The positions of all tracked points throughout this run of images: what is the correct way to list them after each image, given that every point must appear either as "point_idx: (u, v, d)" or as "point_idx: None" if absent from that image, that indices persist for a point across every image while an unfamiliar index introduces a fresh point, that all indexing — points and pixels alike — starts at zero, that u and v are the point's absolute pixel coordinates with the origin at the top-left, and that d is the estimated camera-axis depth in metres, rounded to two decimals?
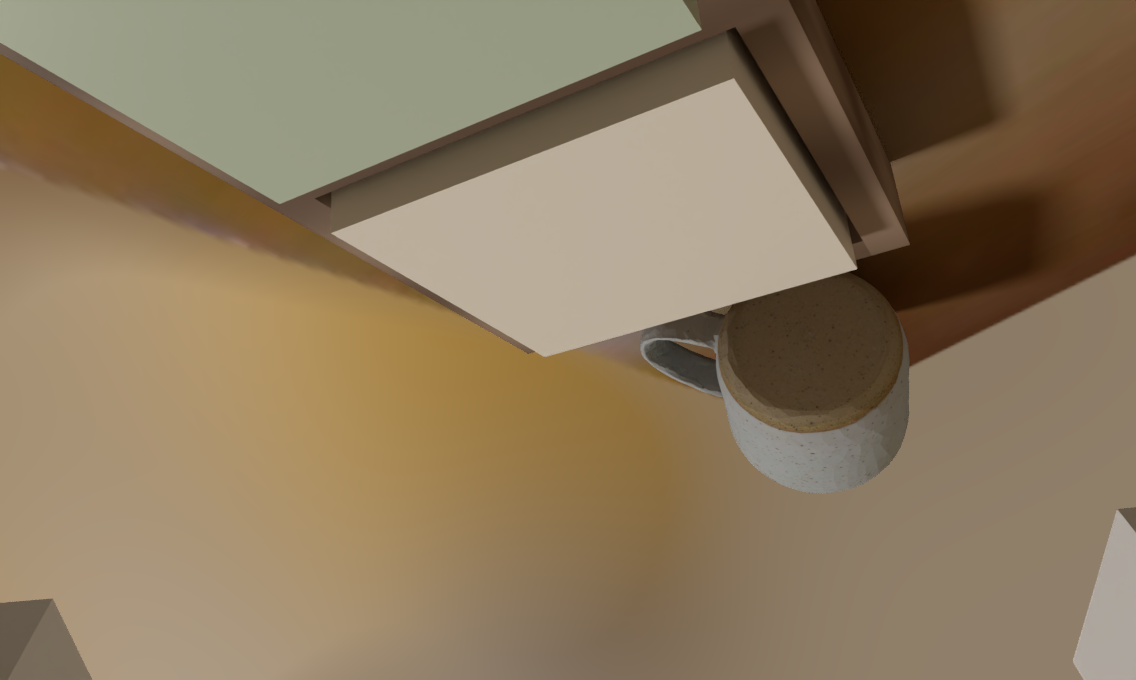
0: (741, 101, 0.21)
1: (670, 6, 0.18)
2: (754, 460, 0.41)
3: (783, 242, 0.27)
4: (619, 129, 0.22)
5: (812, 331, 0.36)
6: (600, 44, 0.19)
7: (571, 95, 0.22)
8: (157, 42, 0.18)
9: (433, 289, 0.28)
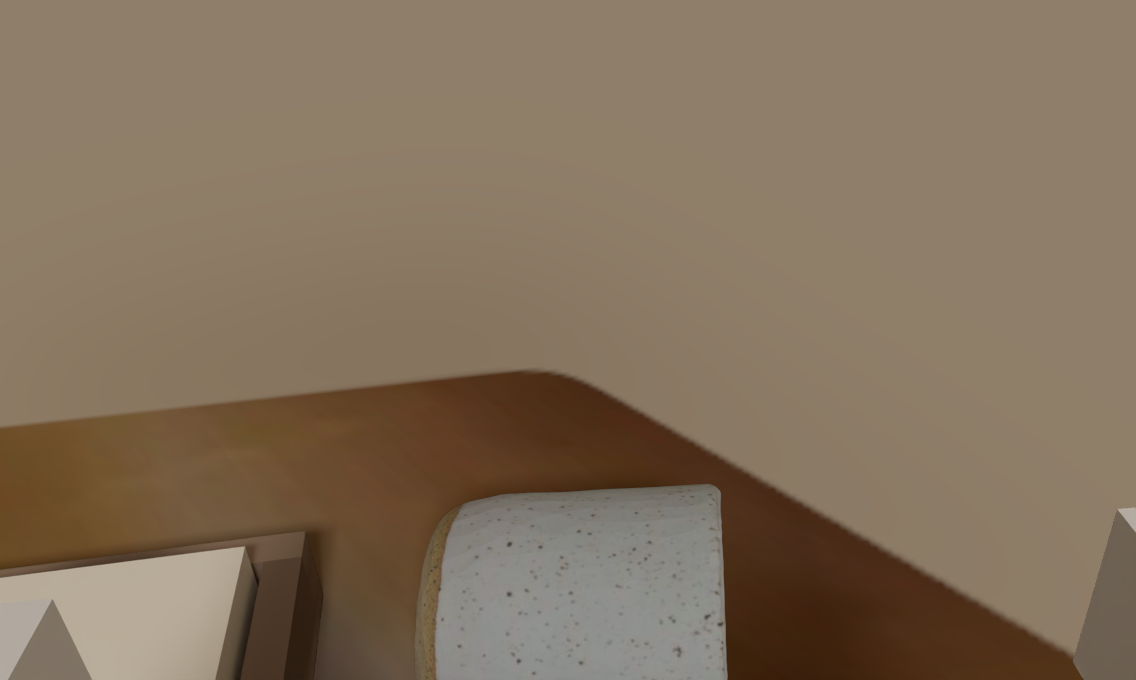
0: None
1: None
2: (663, 656, 0.23)
3: (129, 592, 0.29)
4: None
5: None
6: None
7: None
8: None
9: None
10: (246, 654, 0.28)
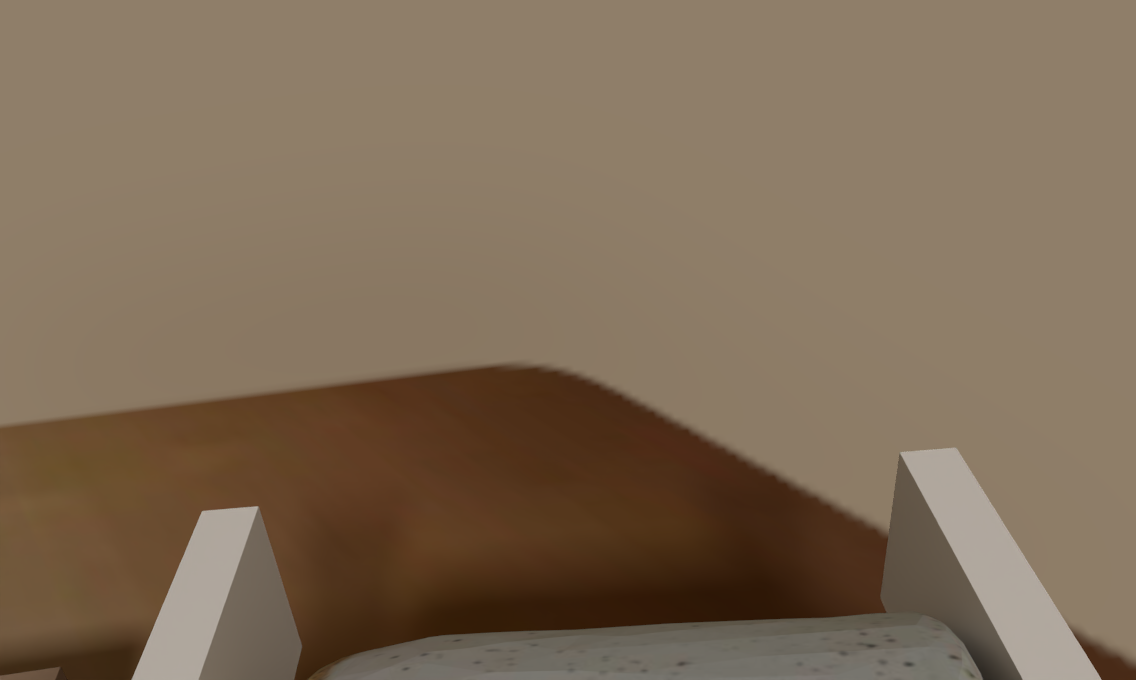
0: None
1: None
2: None
3: None
4: None
5: None
6: None
7: None
8: None
9: None
10: None
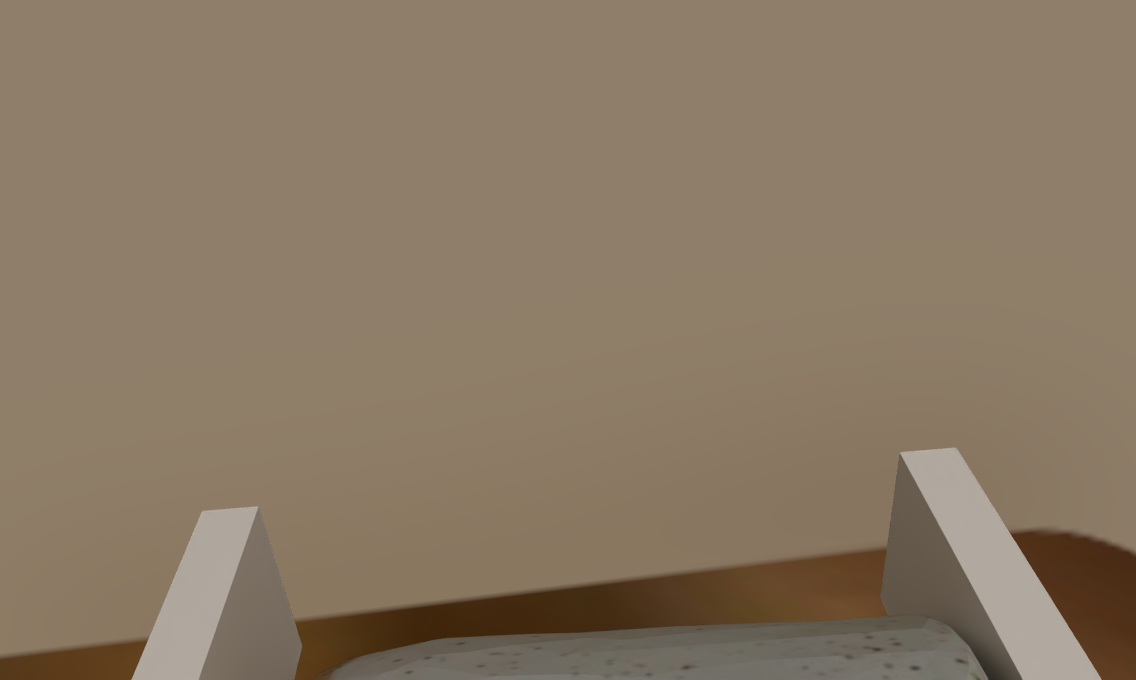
0: None
1: None
2: None
3: None
4: None
5: None
6: None
7: None
8: None
9: None
10: None
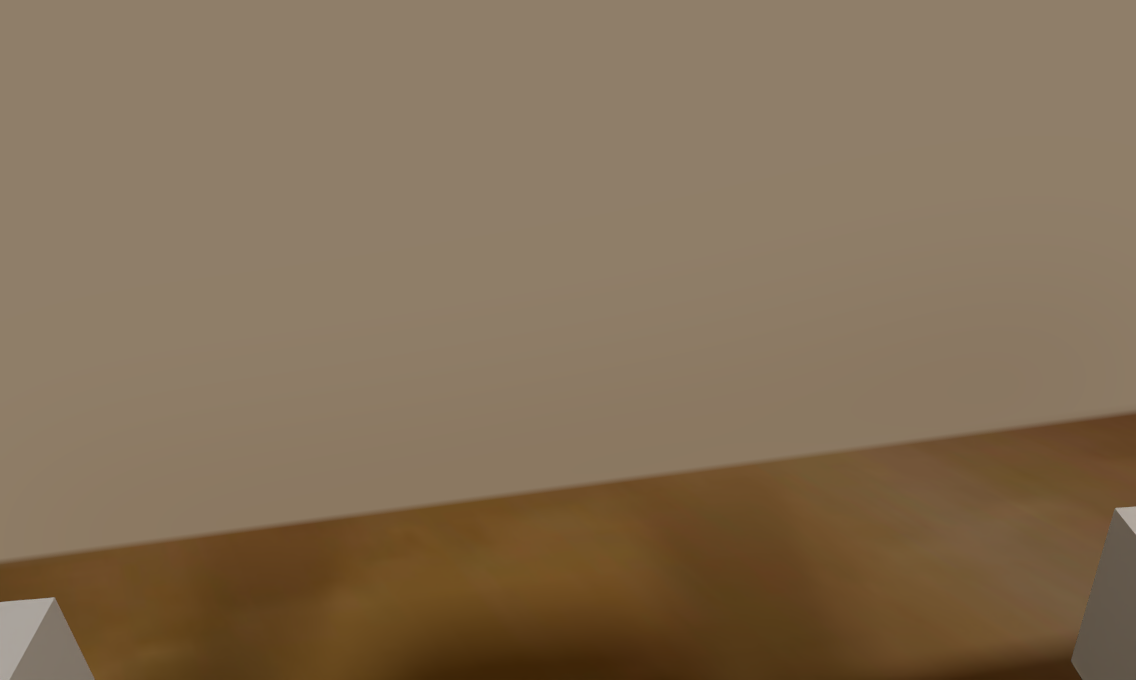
0: None
1: None
2: None
3: None
4: None
5: None
6: None
7: None
8: None
9: None
10: None
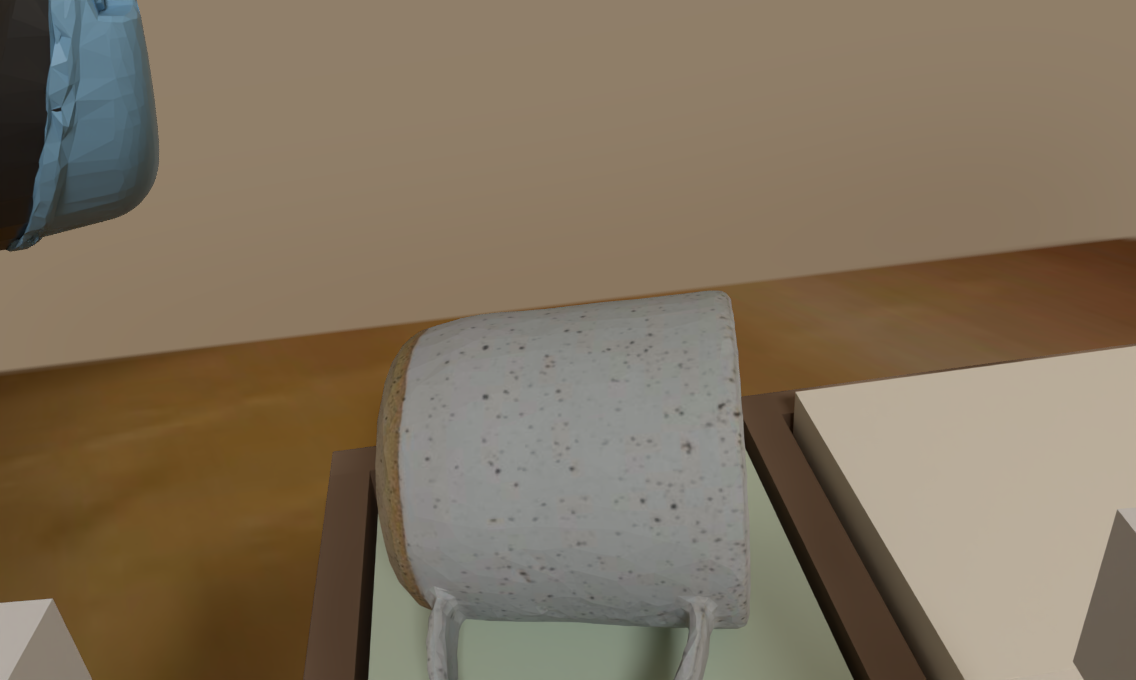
0: (825, 390, 0.29)
1: None
2: (670, 455, 0.19)
3: (1066, 382, 0.29)
4: (835, 446, 0.27)
5: None
6: None
7: (837, 502, 0.27)
8: None
9: None
10: None
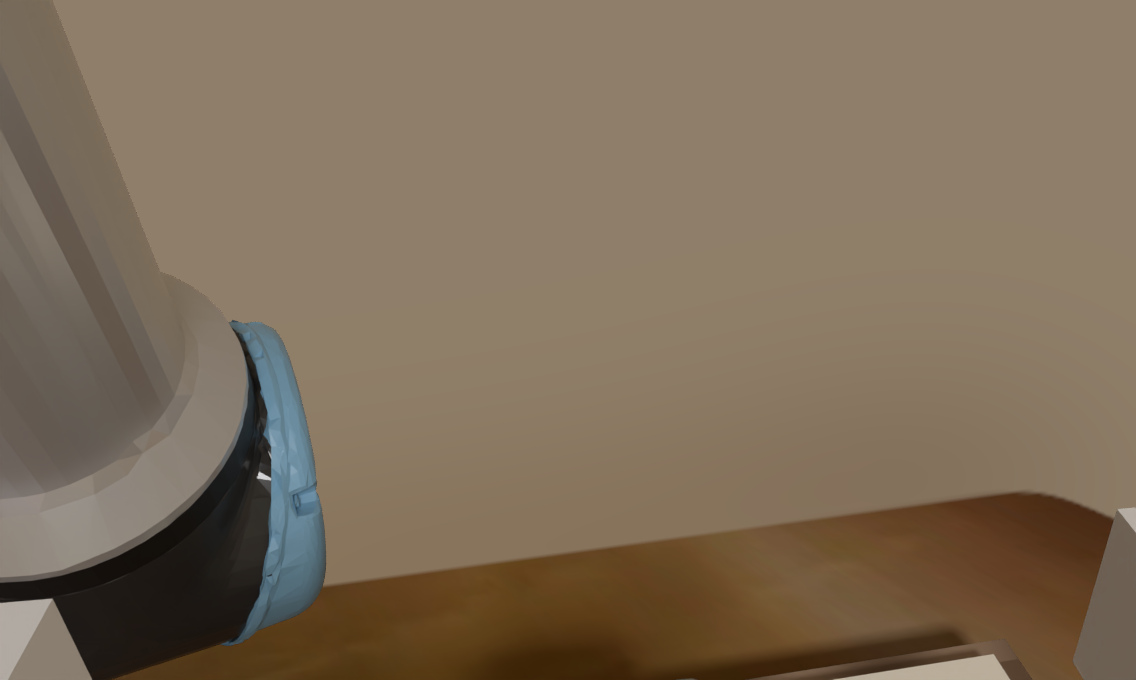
0: None
1: None
2: None
3: None
4: None
5: None
6: None
7: None
8: None
9: None
10: None
